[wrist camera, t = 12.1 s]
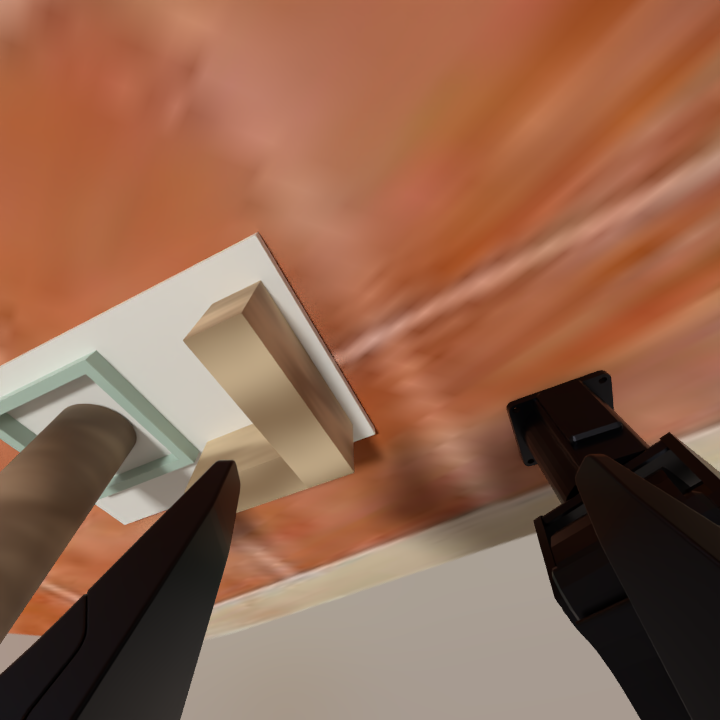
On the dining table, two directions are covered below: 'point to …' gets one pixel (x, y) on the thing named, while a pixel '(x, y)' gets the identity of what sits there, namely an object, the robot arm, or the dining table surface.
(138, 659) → the robot arm
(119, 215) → the dining table surface
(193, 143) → the dining table surface
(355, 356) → the dining table surface
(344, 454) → the tan l-shaped block
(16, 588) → the walnut column
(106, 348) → the board
